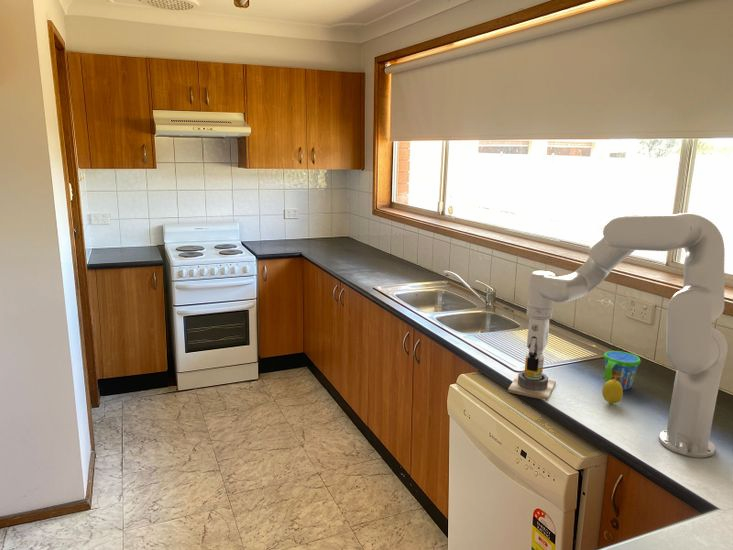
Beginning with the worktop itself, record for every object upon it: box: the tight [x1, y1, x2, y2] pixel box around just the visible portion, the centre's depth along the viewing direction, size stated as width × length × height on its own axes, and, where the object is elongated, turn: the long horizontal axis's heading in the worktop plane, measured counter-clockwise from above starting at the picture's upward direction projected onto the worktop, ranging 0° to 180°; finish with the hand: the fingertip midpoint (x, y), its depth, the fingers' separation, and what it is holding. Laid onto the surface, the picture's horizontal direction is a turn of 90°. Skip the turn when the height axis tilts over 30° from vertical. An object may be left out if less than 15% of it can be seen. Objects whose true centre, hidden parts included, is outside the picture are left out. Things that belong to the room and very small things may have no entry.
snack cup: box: [603, 350, 642, 391], centre depth 178 cm, size 16×10×10 cm
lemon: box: [601, 379, 624, 405], centre depth 165 cm, size 6×6×8 cm
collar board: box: [507, 370, 557, 401], centre depth 175 cm, size 14×12×4 cm
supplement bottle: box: [524, 347, 545, 380], centre depth 174 cm, size 5×5×10 cm
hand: (534, 366), depth 174 cm, fingers closed on supplement bottle, 5 cm apart
